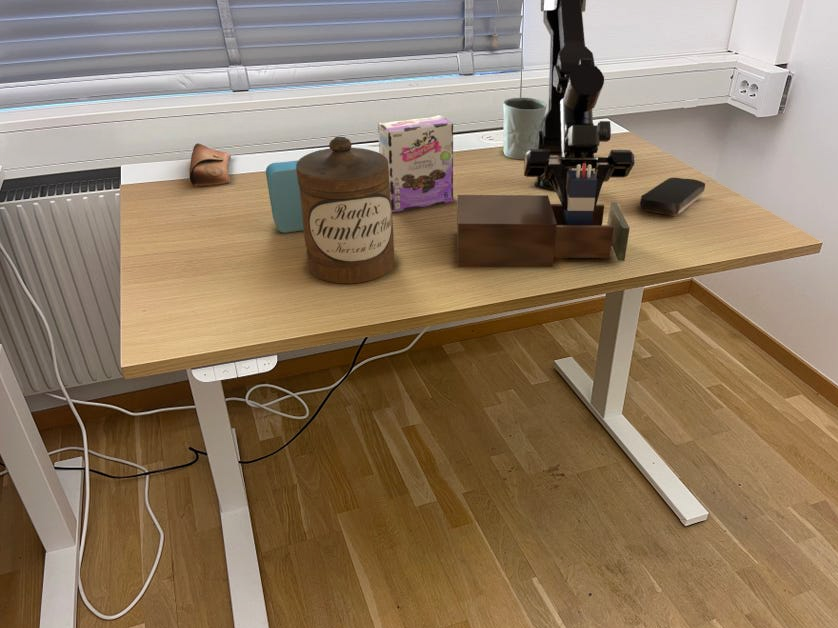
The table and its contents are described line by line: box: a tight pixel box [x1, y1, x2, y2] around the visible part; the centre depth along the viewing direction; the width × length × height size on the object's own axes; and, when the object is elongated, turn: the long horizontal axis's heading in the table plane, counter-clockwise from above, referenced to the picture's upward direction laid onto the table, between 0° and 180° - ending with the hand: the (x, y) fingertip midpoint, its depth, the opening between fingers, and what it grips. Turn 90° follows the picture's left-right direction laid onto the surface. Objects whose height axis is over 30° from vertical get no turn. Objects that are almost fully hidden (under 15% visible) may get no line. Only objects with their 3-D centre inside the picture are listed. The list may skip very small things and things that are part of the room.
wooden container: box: [296, 136, 395, 284], centre depth 116 cm, size 15×15×22 cm
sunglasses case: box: [188, 143, 232, 187], centre depth 156 cm, size 18×7×7 cm
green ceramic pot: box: [502, 97, 548, 160], centre depth 167 cm, size 10×10×12 cm
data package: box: [265, 160, 304, 234], centre depth 131 cm, size 12×4×12 cm, turn 112°
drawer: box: [550, 201, 631, 262], centre depth 126 cm, size 17×11×6 cm
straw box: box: [562, 163, 597, 225], centre depth 122 cm, size 4×4×15 cm
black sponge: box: [639, 177, 706, 217], centre depth 145 cm, size 16×8×4 cm, turn 143°
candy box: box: [377, 115, 454, 213], centre depth 140 cm, size 14×6×16 cm, turn 117°
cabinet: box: [456, 194, 557, 268], centre depth 125 cm, size 17×13×8 cm
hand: (579, 209), depth 122 cm, fingers closed on straw box, 4 cm apart
